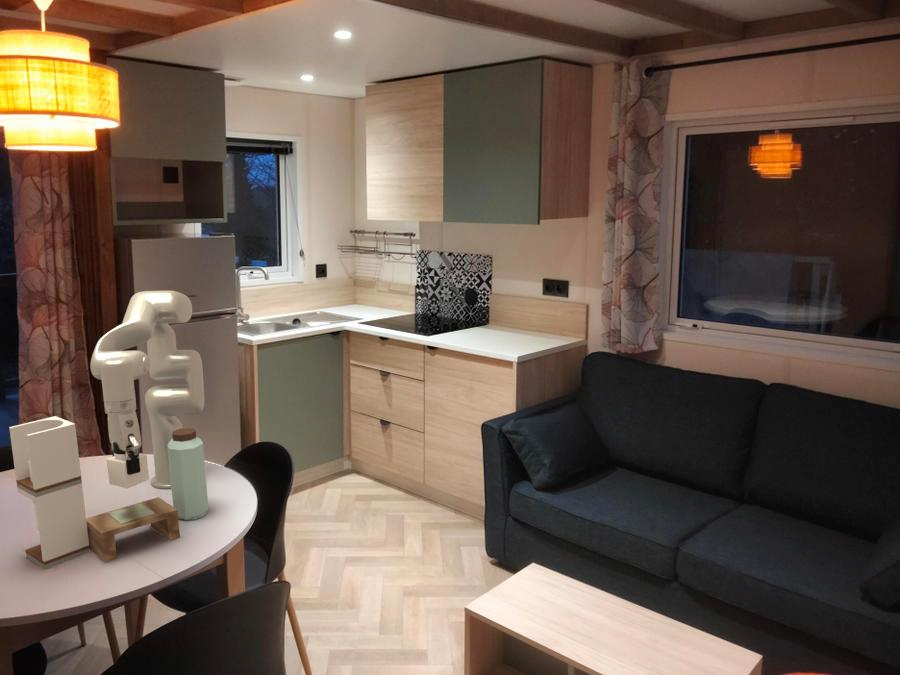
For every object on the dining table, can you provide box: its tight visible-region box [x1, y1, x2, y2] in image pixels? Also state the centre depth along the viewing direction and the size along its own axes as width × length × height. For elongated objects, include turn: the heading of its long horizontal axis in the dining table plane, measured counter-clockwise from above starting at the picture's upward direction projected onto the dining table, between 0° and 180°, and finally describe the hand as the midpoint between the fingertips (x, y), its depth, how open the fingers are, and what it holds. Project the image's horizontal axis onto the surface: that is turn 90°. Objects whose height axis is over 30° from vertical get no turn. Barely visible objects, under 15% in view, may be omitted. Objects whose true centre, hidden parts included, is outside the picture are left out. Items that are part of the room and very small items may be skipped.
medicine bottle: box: [106, 442, 150, 489], centre depth 208 cm, size 7×7×12 cm
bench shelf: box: [86, 496, 181, 563], centre depth 212 cm, size 20×12×8 cm, turn 133°
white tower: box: [8, 415, 91, 570], centre depth 203 cm, size 11×11×35 cm
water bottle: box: [167, 427, 209, 521], centre depth 227 cm, size 10×10×25 cm
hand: (126, 468), depth 209 cm, fingers closed on medicine bottle, 8 cm apart
